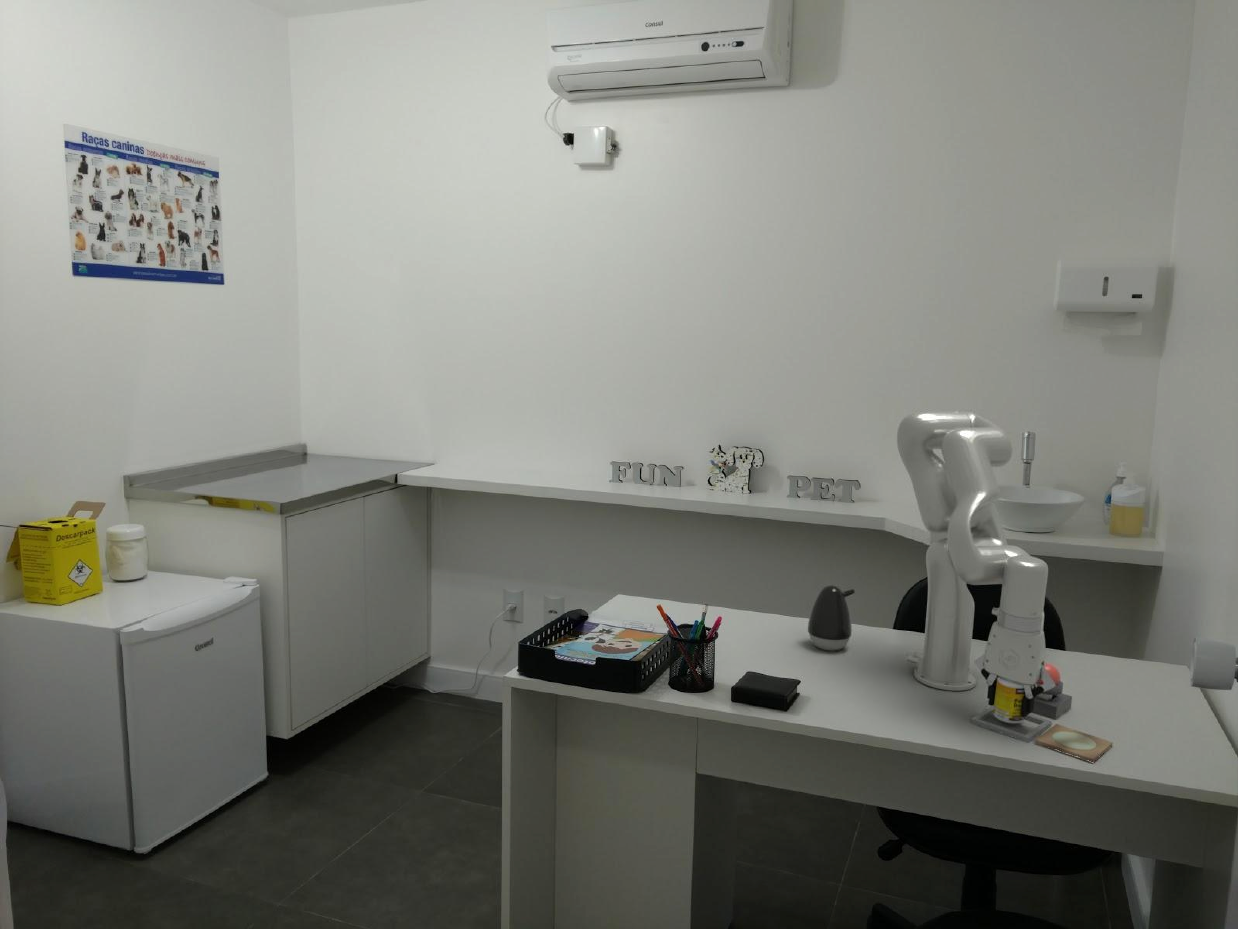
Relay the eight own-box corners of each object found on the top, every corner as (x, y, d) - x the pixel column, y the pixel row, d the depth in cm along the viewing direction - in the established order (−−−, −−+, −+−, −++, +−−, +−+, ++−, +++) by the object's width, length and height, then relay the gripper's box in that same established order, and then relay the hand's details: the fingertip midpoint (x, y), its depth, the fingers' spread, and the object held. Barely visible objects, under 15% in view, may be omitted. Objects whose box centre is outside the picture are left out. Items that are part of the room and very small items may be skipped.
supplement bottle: (1012, 727, 168) (1019, 677, 166) (986, 715, 173) (992, 666, 171) (1029, 720, 171) (1036, 671, 169) (1003, 709, 176) (1009, 660, 174)
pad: (1034, 743, 163) (1035, 739, 163) (1055, 727, 170) (1056, 723, 170) (1092, 763, 156) (1093, 758, 156) (1112, 746, 163) (1112, 741, 163)
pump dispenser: (856, 655, 206) (860, 592, 204) (811, 654, 206) (815, 591, 204) (845, 640, 216) (849, 580, 214) (803, 638, 216) (806, 578, 214)
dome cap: (1021, 699, 179) (1024, 663, 178) (1033, 691, 184) (1037, 655, 183) (1053, 709, 175) (1057, 672, 174) (1066, 701, 179) (1069, 664, 178)
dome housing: (1014, 706, 180) (1015, 694, 179) (1030, 695, 185) (1031, 684, 185) (1055, 719, 174) (1056, 707, 173) (1070, 708, 179) (1072, 696, 179)
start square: (970, 722, 171) (970, 718, 171) (995, 707, 179) (995, 703, 179) (1028, 742, 164) (1028, 738, 163) (1051, 725, 171) (1051, 721, 171)
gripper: (967, 612, 172) (957, 699, 175) (1059, 638, 160) (1047, 731, 163) (984, 604, 177) (974, 689, 180) (1074, 629, 165) (1062, 719, 168)
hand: (1009, 708), depth 172 cm, fingers closed on supplement bottle, 5 cm apart
